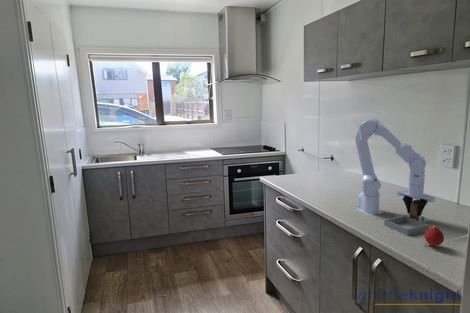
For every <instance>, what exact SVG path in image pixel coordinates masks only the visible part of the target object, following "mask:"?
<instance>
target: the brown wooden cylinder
mask: <svg viewBox="0 0 470 313" xmlns="http://www.w3.org/2000/svg"><path fill="white" fill-rule="evenodd" d="M419 200H420V199H413V201H411V202H410V213H409V214H410V216H409V218H412V219H414V218H416V219H417V220H418V219H419V216H418V214H417V213H418V203H417V201H419Z"/></svg>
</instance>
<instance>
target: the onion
mask: <svg viewBox="0 0 470 313" xmlns="http://www.w3.org/2000/svg"><path fill="white" fill-rule="evenodd" d="M423 235H424V239H425V241H426V243H428V244H429V245H430V246H431V247H433V248H434V247H438V246H440V245H441V244H443V243H444V241H445V236H444V234H443V232H442V231H441V229H439V228H438V227H437V226H436V225H432V227H430V228H429V227H428V230H427V231H425V232H424V234H423Z"/></svg>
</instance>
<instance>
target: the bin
mask: <svg viewBox="0 0 470 313" xmlns="http://www.w3.org/2000/svg"><path fill="white" fill-rule="evenodd" d="M399 216H400V217H398V216H397V217H393V218H392V217H391V218H387V219H384V222H383V226H385V227H387V228H389V229H392V230H393V231H395V232H398V233H400V234H403V235H405V236H406V237H407V236H412V235H416V234H420V233H425V232H426V231H427V230H428V229H429V226H430V225H429V224H427V223H425V222H420V221H417V220H415V219H412V218H409V217H407V216H403V215H399ZM400 223H405V224H410V225H412V226H413V227H410V228H406V227H404V226H401V225H400Z"/></svg>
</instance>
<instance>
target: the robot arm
mask: <svg viewBox="0 0 470 313" xmlns="http://www.w3.org/2000/svg"><path fill="white" fill-rule="evenodd" d="M373 134H374V136H380V137H382V138H383V139H384V140H385V141H386V142H388V143H389V144H390V145H391V146H392V147H394V148H395V154H397V155H398V156H399V157H400V158H401V159H402V160H403V161H404V162H405V163H407V164H408V167H409V169H410V171H409V172H410V173H409V174H408V176H409V177H408V189H407V191H406V190H398V191H397V196H403V198H402V201H403V202H404V205H405V207H406V208H405V209H406V212H407V214H410V202H411V201H414V200H416V199H417V200H419V201H417V203H418V213H417V214H418V216H422V214H423V211H424V209H425V207H426V205H427V204H428V202H429V203H435V202H436V197H435V196H431V195H428V194H424V193H425V192H424V190H425V181H426V180H425V177H426V174H425V172H426V169H425V168H426V165H427V161H426V159H425V157H424V156H422V155H421V154H420V153H418V152H416V151H415V150H414V149H413V146H412V145H411V144H408V143H403V142H401V141H400V140H399V139H398V138H397V137H396V136H395V135H394V134H393V133H392V132H391V131H390V130H389V129H388V128H387V127H386V126H385V125H384V124H383V123H382V122H379V120H378V119H377V118H376V119H375V118H369V119H366V120H364V121H363V122H362V123H361V124H360V125H358V131H357V132H356V135H355V138H354V140H355V145H356V150H357V154H358V158H359V163H360V167H361V168H360V169H361V172H362V190H361V192H359V194H358V196H357V208H356V210H357V211H359V212H362V213H365V214H366V215H369V216H373V215H378V214H384V212H383V211H382V210H380V197H381V194H380V192H379V190H380V188H382V187H381V186H382V184H381V182H380V180H379V179H378V177H377V174H376V173H375V168H374V165H373V160H372V156H371V152H370V147H369V143H368V142H369V141H368V140H369V139H370V138H371V136H372V135H373Z"/></svg>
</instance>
